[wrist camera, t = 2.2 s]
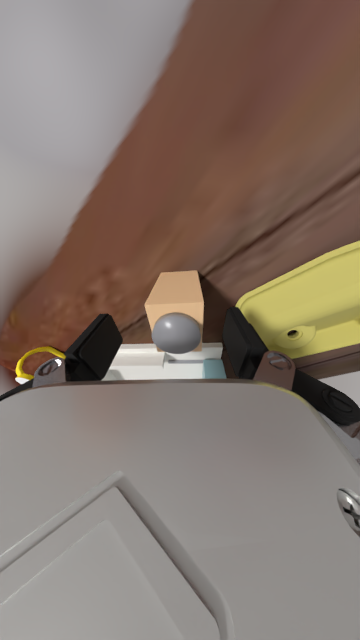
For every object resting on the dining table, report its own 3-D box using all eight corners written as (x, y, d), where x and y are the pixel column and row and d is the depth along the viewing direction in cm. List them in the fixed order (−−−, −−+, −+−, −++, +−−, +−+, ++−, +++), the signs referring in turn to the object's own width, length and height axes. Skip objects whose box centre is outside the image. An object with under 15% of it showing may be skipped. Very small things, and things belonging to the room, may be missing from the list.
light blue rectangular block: (221, 359, 21) (232, 401, 16) (214, 395, 29) (219, 430, 24) (203, 359, 21) (208, 400, 16) (201, 395, 29) (203, 429, 24)
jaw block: (197, 270, 14) (205, 308, 8) (196, 309, 17) (202, 359, 11) (161, 272, 14) (140, 311, 8) (167, 310, 17) (155, 359, 11)
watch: (39, 345, 23) (-2, 374, 19) (45, 339, 22) (3, 368, 17) (70, 363, 26) (41, 393, 21) (76, 358, 25) (47, 389, 20)
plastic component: (264, 365, 20) (253, 361, 13) (244, 324, 24) (227, 302, 16) (515, 306, 11) (1018, 167, 3) (421, 254, 14) (567, 131, 7)
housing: (221, 342, 20) (226, 361, 18) (212, 392, 31) (214, 409, 28) (92, 344, 22) (79, 362, 19) (126, 391, 33) (120, 407, 30)
